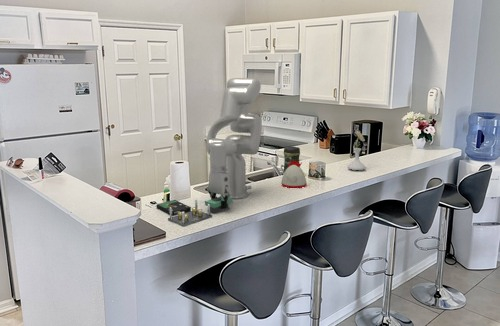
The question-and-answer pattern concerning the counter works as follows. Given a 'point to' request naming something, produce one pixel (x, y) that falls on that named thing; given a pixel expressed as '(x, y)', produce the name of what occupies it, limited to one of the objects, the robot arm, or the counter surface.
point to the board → (217, 202)
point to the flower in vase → (357, 156)
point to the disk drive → (173, 207)
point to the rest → (218, 209)
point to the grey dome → (294, 176)
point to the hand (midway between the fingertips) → (219, 206)
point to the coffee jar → (290, 155)
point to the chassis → (190, 216)
